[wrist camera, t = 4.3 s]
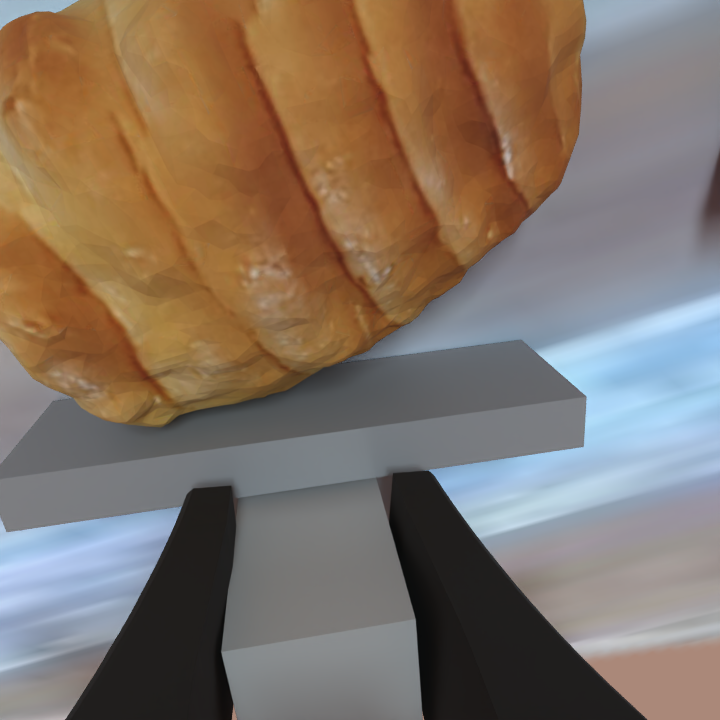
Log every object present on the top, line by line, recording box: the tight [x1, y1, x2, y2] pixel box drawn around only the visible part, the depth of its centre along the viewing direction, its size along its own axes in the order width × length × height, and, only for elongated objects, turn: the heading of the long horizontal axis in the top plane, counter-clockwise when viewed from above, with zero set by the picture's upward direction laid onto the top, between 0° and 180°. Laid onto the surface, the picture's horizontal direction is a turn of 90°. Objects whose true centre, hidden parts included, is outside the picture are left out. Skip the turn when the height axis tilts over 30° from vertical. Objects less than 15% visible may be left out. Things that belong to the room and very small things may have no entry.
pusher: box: [0, 340, 586, 720], centre depth 11 cm, size 10×4×6 cm, turn 93°
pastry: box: [0, 0, 586, 427], centre depth 9 cm, size 9×7×4 cm
